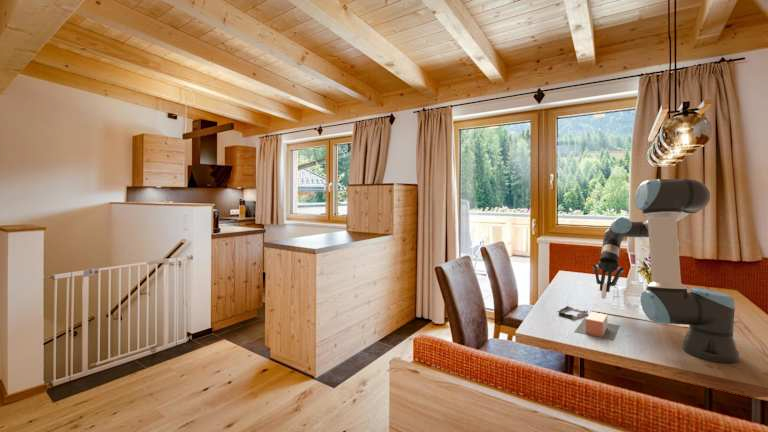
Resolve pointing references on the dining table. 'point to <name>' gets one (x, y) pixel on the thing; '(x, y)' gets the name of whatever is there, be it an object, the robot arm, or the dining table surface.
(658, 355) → the dining table surface
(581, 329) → the charcoal mat
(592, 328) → the off-white block
